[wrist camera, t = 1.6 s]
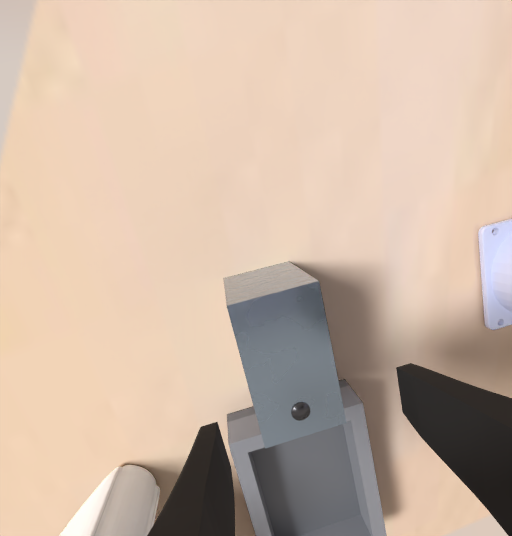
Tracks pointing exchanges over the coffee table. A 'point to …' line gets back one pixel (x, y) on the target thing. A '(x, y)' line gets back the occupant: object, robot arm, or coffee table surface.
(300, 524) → the lock cradle
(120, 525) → the photo printer
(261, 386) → the block
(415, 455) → the coffee table surface
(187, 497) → the robot arm
